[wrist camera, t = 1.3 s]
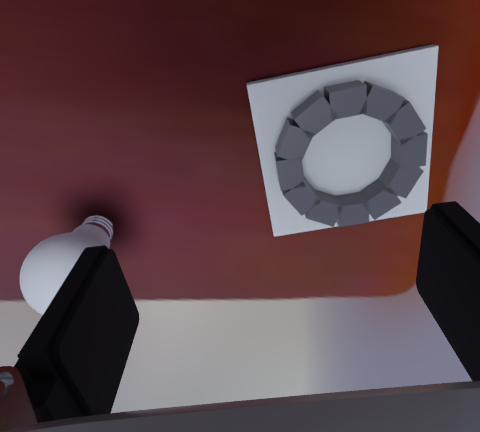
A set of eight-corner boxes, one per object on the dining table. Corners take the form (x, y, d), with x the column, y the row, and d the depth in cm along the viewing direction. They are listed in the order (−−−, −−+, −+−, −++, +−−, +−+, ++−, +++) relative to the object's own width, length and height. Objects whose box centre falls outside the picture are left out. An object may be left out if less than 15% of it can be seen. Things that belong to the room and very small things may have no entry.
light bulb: (135, 196, 34) (94, 273, 24) (137, 254, 37) (102, 342, 27) (61, 189, 33) (-10, 264, 24) (70, 248, 37) (11, 335, 27)
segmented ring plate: (246, 82, 28) (247, 91, 26) (432, 44, 27) (452, 49, 25) (273, 230, 35) (275, 249, 33) (421, 206, 34) (436, 223, 32)
